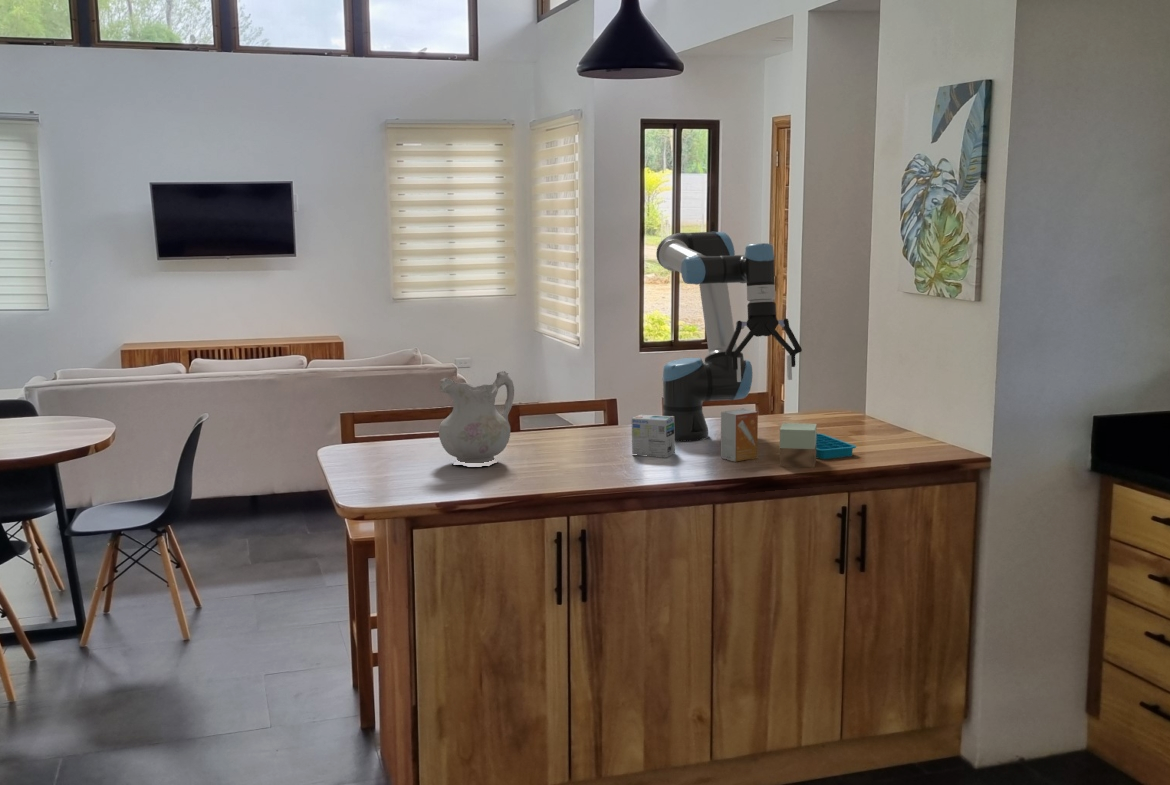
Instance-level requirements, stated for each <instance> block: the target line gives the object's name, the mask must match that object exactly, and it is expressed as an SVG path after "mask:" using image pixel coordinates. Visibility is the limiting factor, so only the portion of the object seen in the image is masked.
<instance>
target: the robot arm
mask: <svg viewBox="0 0 1170 785" xmlns="http://www.w3.org/2000/svg"><path fill="white" fill-rule="evenodd" d="M744 249H745V251H744V254H739V255H738V254H737V255H736V252H735V247H734V243H733V241H732V238H731V237H730V236H729V235H728V234H727V233H726V232H722V231H701V232H700V231H699V232H677V233H673V234H671V235H668V236H666V237H665V238H663V239H662V240H661V241H660V242H659V244H658V245H657V248H656V253H655V254H656V256H655V257H656V259H657V261H658V264H659V265H660V266H661V267H662V268H664V270H665V269H666V270H668V271H671V272H679V273H680V274H681V278H682V280H683V283H684V284H686V285H699V293H700V298H701V307H702V313H703V322H704V328H705V329H704V330H705V335H706V341H707V342H706V344H707V350H708V353H707V355H706V356H705V357H704V361H703V360H702V358H700V357H685V358H678V359H675V360H671V361H668V362H667V363H666V364H664V366H663V372H662V385H663V387H662V392H663V393H662V394H663V403H662V404H663V411H662V412H663V413H662V415H661V416H674V425H675V442H694V441H695V442H696V441H702V440H703V441H704V440H705V439H708V438H709V427H708V425H707V421H706V418H705V416H704V412H703V402H713V401H714V402H715V401H735V400H742V399H745V398H747V396H748V395H749V393H750V391H751V387H752V384H753V383H752V382H753V366H752V363H751V361H750V360H747V359H744V353H743V352H742V351H743V350H744V349H745V347H746V346H747V345H748V343H749V342H750V341H751V340H752V338H754V336H755V337H758V338H759V337H769V336H772V337H773V339H775V340H776V341H777V342H778V343H779V344H780V345H781V346H782V347H783V349H784V350H785V351H786V352H787V353H788V355H786V369H787V370H786V372H787V373H786V376H787V380H788V381H792V380H793V372H792V370H793V368H795V367H796V355H797V354H800V353H802V351H803V349H802V347H801V345H800V344H799V341H798V339H797V338H796V336H795V334H794V332H793V331H792V329H791V327H790V324H789V323H790V322H789V319H788V318H783V319H778V318H777V306H776V305H777V304H776V302H775V301H774V300H776V283H775V282H776V280H775V278H776V277H775V257H776V256H775V253H774V246H773V245H772V243H765V242H764V243H763V242H761V243H750V244H748V245H746V246H745V248H744ZM735 283H739V284H746V301H747V302H748V303H747V320H746V321H741V320H737V321H736V323H735V326H734V319H733V313H732V306H731V305H732V304H731V299H730V292H729V286H728V285H729V284H735ZM778 325H780V327H781V328H783V330H784V332H785V334H786V336H787V338H788V339H789V341H790V343H791V345H792V346H793V348H792V346H791V345H790V344H789V343H788V342H787V341H786V340H785V339H784V338H783V337H782V335H781V334H779V332H778V331H777V330H776V328H777V327H778ZM745 327H747V328H748V330H749V332H748V333H747V334H746V336H745V337H744V339H743V340H741V343H739V345H738V346H737V341H738V340H739V337H740V334H741V331H742V330H743V329H744V328H745Z"/></svg>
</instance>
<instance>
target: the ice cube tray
mask: <svg viewBox="0 0 1170 785" xmlns="http://www.w3.org/2000/svg"><path fill="white" fill-rule="evenodd" d="M856 448H857V445H855V444H851V443H848V442H846V441H844V440H840V439H839V438H838V439H837V438H835V437H832V436H829V435H826V434H823V433H817V436H816V459H820V460H827V459H828V460H829V459H836V458H837V457H838V458H845V457H846V456H848V457H853V450H854V449H856ZM846 458H847V457H846Z"/></svg>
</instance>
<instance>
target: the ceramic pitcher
mask: <svg viewBox="0 0 1170 785" xmlns="http://www.w3.org/2000/svg"><path fill="white" fill-rule="evenodd" d="M508 374H509V373H507V371H506V370H505V371H498V372H497V373H496V379H495V380H494V382H492V384H489V383H488V384H481V385H477V386H474V385H471V384H469V383H467V382H464V381H463V382H455V381H454V380H452V379H450V378H447V377H444V378H442V379H440V384H439V390H440V392H442V393H445V394H447V395H448V396H449V397H450V398H451V400H452V405H453V407H452V412H450V413H449V415H448V416H447V417H445V418H444V419H443V420H442V421H441V423H440V424H439V427H438V437H439V441H440V445H441V446H442V448H443V449H444V450H445V452H446V453H447V454H449V455H450V456H452V457H454V458H456V459H457V460H458V461H460V462H465V463H484V462H489V461H492V460H494V459H495V456H498V455H499V454H501V453H502V452H504V450H505V448H506V447H507V445H508V444H509V441H510V438H511V437H510V436H511V425H510V423H509V413H510V411H511V409H512V407H513V401H514V398H515V386H514V382H513V380H512V378H511V377H510V376H509V375H508ZM503 386H505V387H506V399H505V402H504V404H503V405H504V406H503V408H502V409H503V410H502V414H500V413H499V412H498V410H497V409H496V406H495V405H496V404H495V403H496V397H497V394H498V392H499V389H500V388H501V387H503Z"/></svg>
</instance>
